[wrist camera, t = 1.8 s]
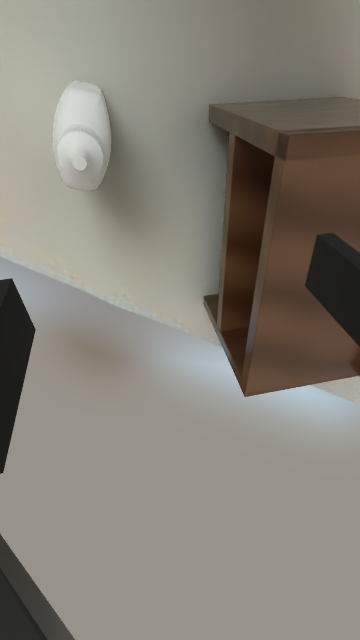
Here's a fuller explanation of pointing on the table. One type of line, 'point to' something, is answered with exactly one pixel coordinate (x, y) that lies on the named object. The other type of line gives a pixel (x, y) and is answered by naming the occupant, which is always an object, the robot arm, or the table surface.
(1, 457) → the robot arm
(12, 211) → the table surface
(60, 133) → the eye dropper bottle
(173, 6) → the table surface
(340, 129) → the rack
